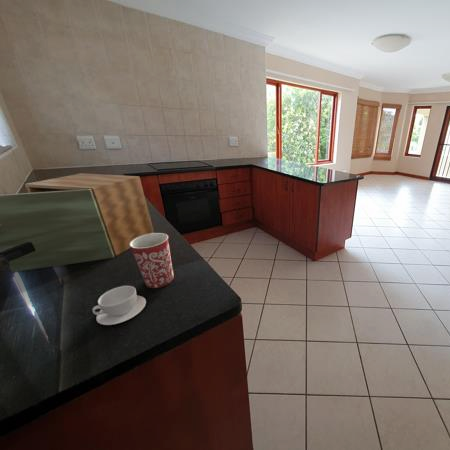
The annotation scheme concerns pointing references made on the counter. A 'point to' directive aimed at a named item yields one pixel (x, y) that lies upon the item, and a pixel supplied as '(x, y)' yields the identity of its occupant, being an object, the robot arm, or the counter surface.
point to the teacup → (118, 305)
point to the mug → (153, 259)
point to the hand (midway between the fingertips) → (31, 246)
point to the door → (53, 228)
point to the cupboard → (109, 203)
